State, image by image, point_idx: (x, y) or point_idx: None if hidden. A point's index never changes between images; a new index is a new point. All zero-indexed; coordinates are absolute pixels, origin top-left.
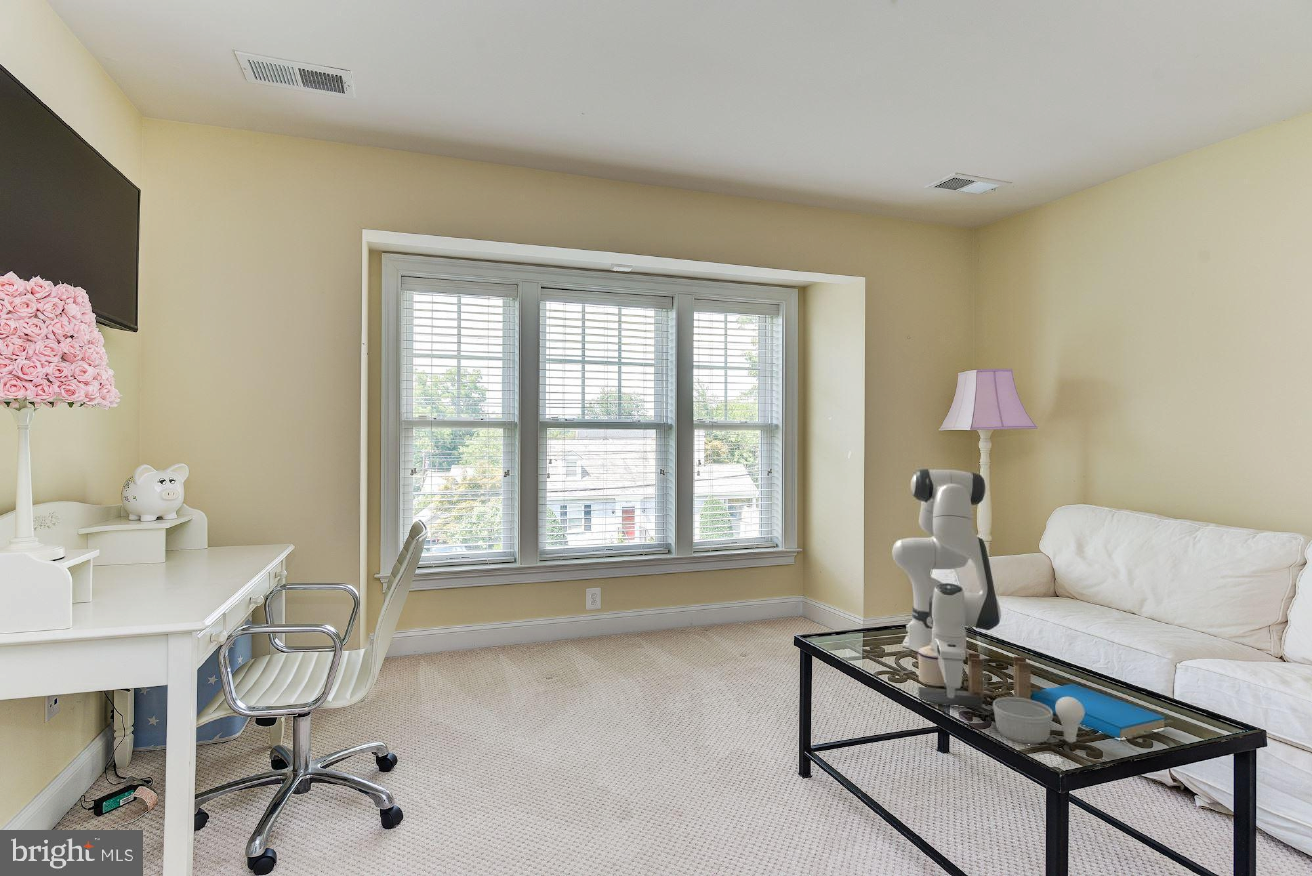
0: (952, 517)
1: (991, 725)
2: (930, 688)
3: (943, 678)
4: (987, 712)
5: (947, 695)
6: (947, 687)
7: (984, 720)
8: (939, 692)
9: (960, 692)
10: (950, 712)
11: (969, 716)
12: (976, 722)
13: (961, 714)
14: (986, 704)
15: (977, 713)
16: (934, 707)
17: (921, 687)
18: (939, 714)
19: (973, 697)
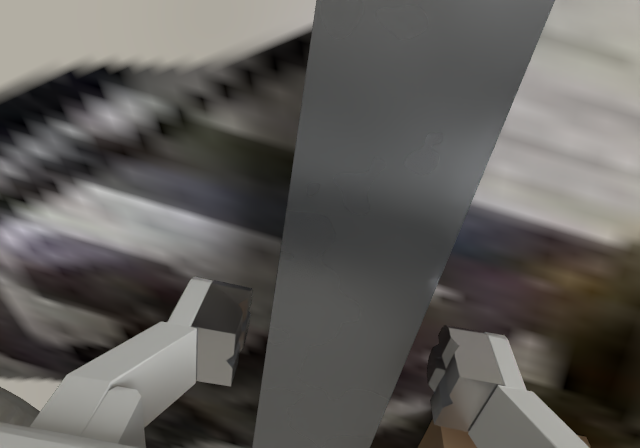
0: None
1: (10, 361)
2: (456, 173)
3: (561, 420)
4: (215, 406)
5: (187, 285)
6: (92, 363)
7: (74, 355)
8: (310, 238)
9: (334, 406)
10: (136, 203)
11: (106, 302)
12: (14, 306)
13: (124, 266)
14: None
15: None
16: (219, 96)
17: (512, 44)
18: (46, 91)
19: (255, 441)
